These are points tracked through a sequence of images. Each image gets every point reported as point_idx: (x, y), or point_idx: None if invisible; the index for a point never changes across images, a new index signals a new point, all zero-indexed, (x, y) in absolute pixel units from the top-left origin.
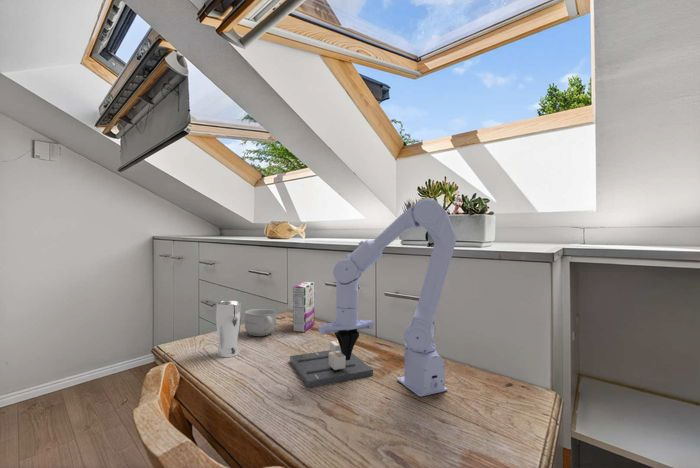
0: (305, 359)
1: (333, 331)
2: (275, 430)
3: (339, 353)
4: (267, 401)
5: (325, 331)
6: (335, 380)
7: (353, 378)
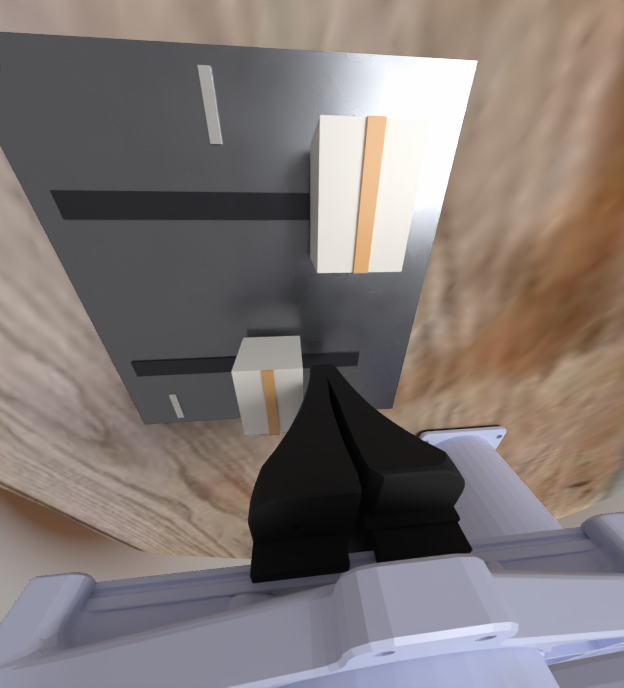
0: (113, 198)
1: (207, 598)
2: (88, 513)
3: (288, 398)
4: (27, 439)
5: (107, 622)
6: None
7: None
